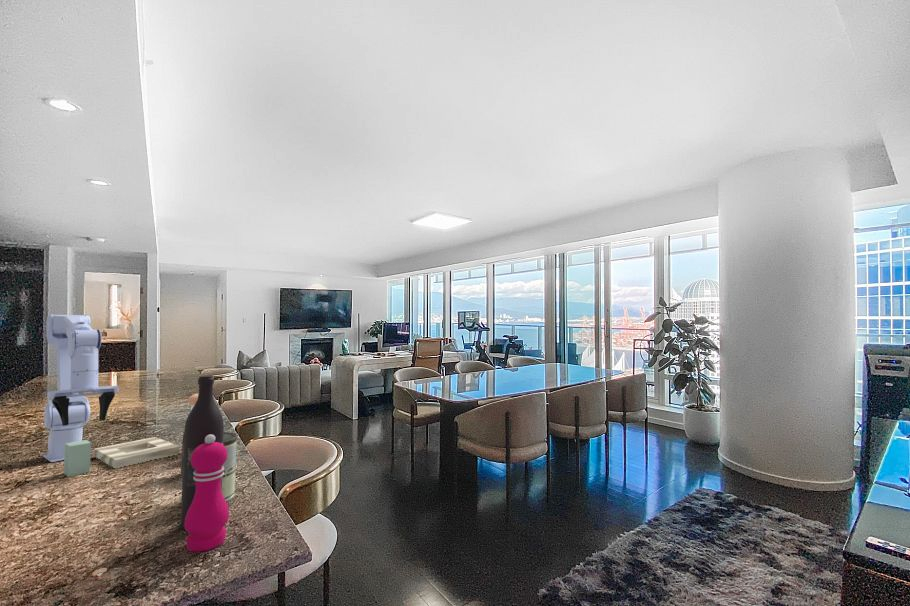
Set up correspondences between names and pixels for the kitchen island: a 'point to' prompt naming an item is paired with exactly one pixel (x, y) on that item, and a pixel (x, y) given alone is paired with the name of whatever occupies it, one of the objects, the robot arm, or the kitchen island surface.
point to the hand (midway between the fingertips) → (84, 422)
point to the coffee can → (229, 466)
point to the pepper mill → (207, 498)
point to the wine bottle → (199, 437)
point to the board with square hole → (135, 452)
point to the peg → (77, 458)
